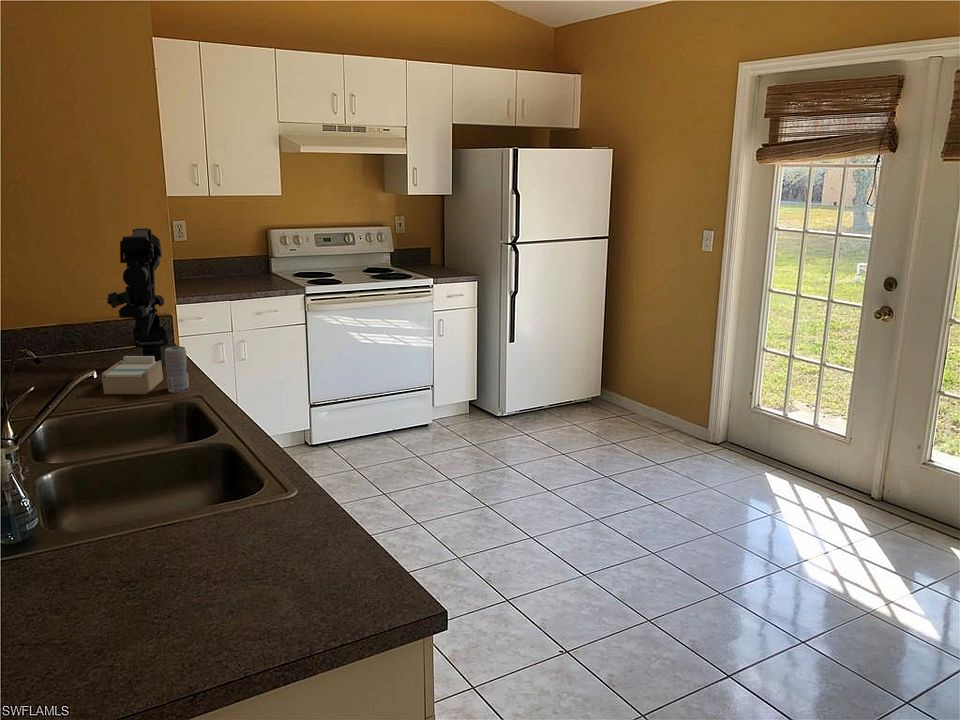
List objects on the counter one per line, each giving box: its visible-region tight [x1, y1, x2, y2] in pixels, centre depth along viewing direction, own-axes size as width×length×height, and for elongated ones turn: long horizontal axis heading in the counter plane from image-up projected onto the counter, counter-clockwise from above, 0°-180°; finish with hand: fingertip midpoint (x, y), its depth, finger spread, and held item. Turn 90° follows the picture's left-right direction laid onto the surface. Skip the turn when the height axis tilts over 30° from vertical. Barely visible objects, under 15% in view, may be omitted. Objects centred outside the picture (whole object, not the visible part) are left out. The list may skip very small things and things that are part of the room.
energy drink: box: [164, 346, 190, 394], centre depth 208 cm, size 5×5×12 cm
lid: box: [105, 355, 157, 377], centre depth 209 cm, size 13×9×2 cm
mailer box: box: [101, 359, 164, 395], centre depth 210 cm, size 13×11×6 cm
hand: (145, 336), depth 219 cm, fingers closed
